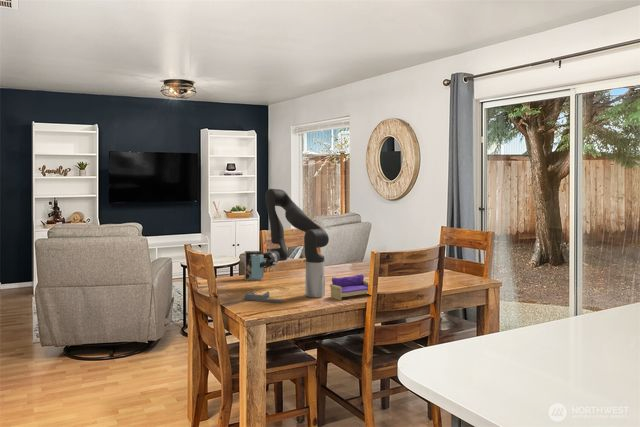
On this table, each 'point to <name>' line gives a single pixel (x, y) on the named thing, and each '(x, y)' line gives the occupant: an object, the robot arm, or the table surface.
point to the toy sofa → (348, 286)
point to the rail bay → (260, 297)
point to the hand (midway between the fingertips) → (255, 265)
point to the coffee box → (247, 268)
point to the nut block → (257, 266)
